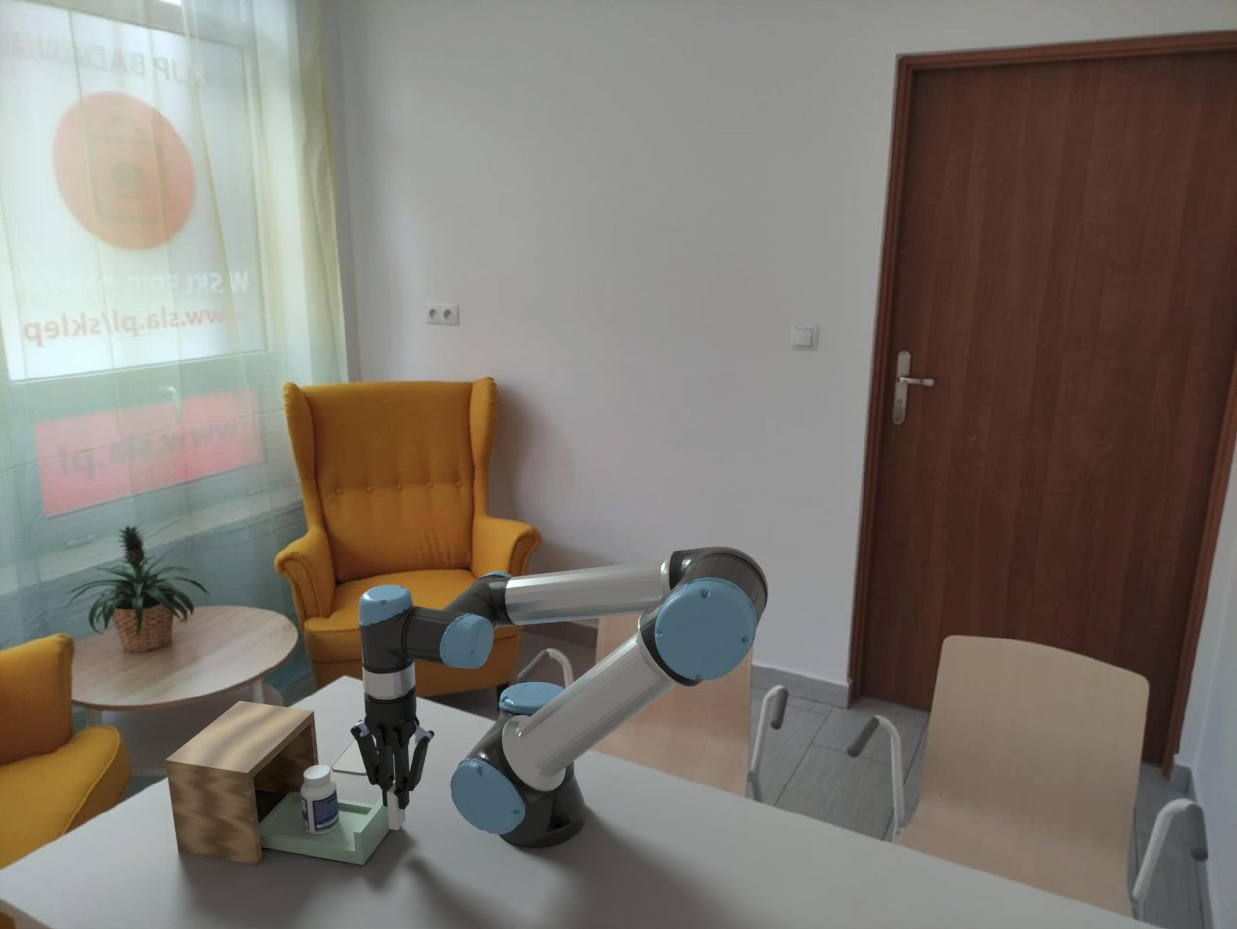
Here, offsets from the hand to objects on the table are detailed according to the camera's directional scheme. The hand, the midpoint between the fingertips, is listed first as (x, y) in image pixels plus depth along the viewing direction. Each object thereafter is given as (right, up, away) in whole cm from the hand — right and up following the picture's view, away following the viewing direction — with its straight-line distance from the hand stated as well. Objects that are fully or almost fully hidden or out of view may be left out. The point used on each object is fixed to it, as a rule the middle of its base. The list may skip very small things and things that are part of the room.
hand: (397, 824), depth 141 cm
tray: (-12, -3, +4) cm, 13 cm away
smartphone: (-12, +2, +27) cm, 30 cm away
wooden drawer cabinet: (-25, -2, +7) cm, 26 cm away
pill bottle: (-13, -2, +4) cm, 14 cm away
